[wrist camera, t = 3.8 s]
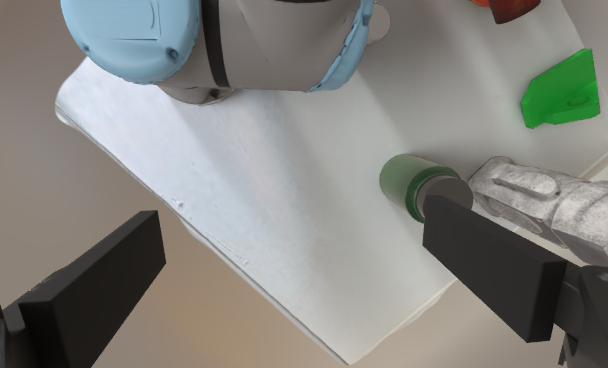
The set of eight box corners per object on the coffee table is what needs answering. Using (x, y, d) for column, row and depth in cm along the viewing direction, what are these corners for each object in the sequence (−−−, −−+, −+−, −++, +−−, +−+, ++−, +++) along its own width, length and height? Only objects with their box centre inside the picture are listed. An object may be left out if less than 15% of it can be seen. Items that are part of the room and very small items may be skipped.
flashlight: (335, 49, 47) (353, 32, 36) (345, 24, 46) (366, -3, 35) (357, 59, 47) (382, 45, 36) (367, 34, 46) (396, 11, 35)
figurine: (499, 224, 58) (659, 309, 34) (454, 180, 54) (596, 239, 30) (536, 188, 56) (730, 249, 32) (493, 141, 53) (673, 169, 29)
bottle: (371, 192, 53) (405, 222, 39) (391, 147, 52) (434, 161, 38) (413, 207, 55) (460, 241, 41) (435, 163, 53) (491, 183, 39)
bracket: (583, 48, 48) (629, 47, 42) (589, 89, 51) (633, 94, 45) (516, 89, 50) (552, 93, 44) (526, 126, 53) (561, 136, 47)
